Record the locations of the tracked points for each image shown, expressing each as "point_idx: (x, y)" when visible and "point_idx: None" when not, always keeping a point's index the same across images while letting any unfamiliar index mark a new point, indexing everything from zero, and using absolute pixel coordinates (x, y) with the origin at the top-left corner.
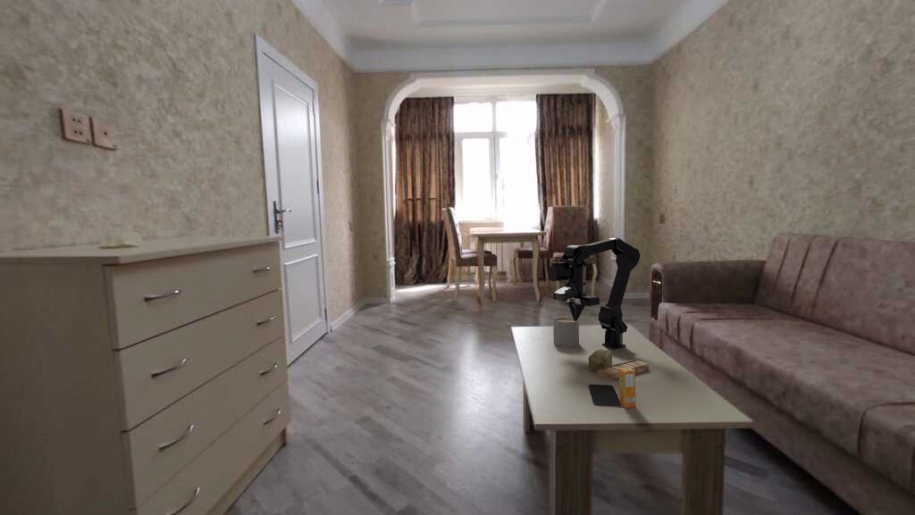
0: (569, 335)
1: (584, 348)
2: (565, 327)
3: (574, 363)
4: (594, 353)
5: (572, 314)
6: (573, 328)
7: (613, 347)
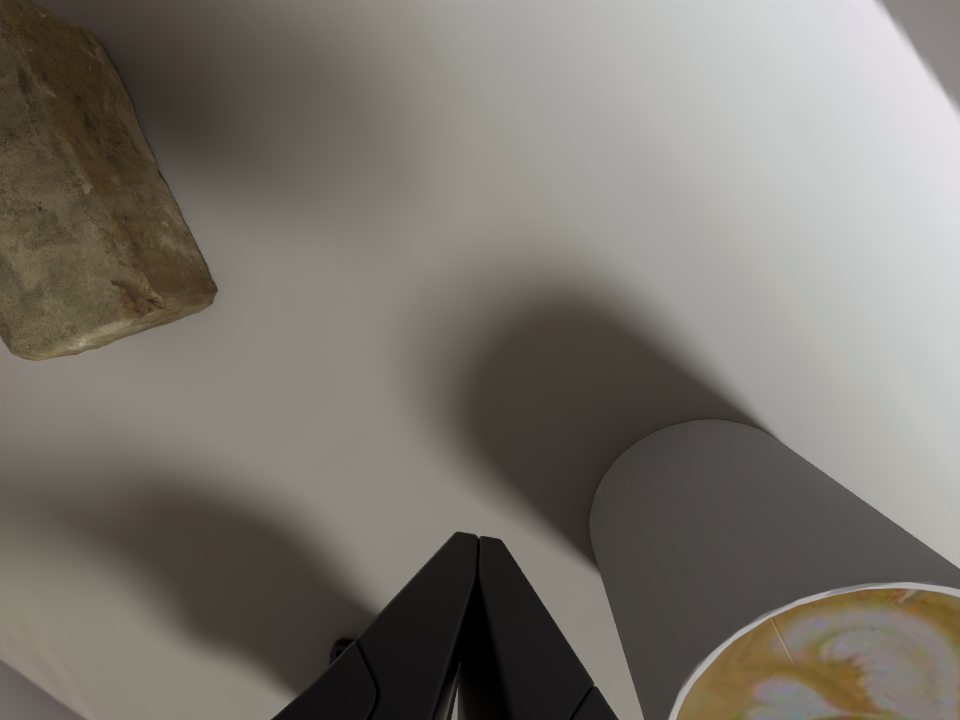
0: (648, 517)
1: (505, 511)
2: (727, 550)
3: (297, 101)
4: (30, 137)
5: (524, 622)
6: (644, 611)
7: (342, 645)
